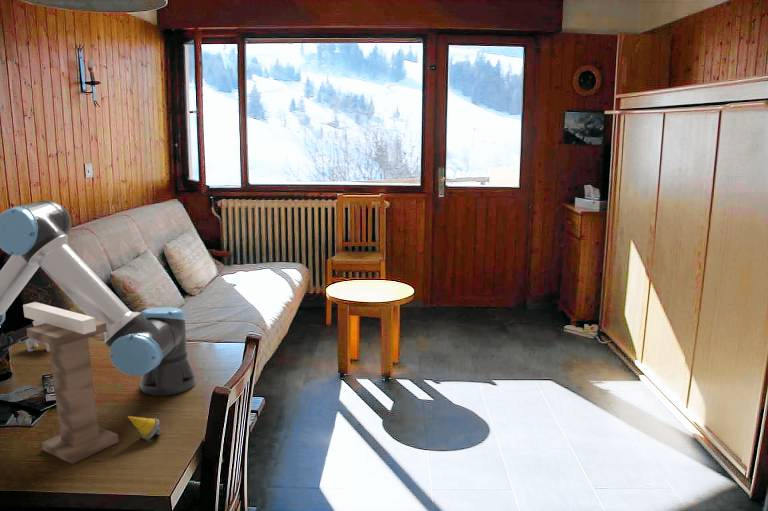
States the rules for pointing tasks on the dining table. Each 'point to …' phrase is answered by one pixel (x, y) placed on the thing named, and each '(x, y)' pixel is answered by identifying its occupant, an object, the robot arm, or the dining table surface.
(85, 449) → the pedestal
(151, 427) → the drill bit
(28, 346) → the dog figurine
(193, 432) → the dining table surface
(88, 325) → the bar
